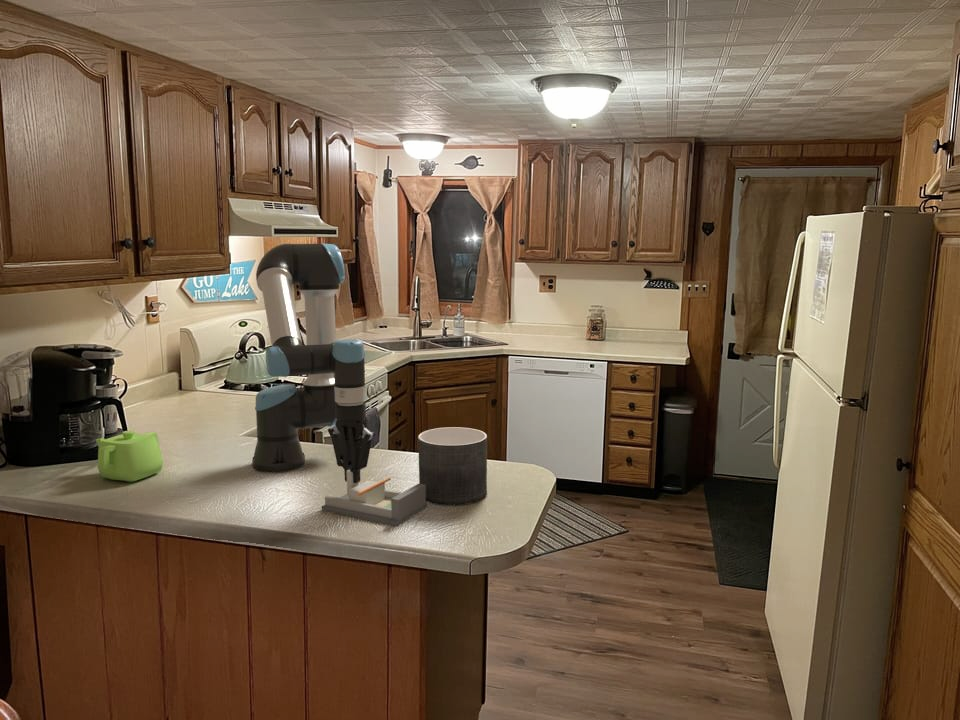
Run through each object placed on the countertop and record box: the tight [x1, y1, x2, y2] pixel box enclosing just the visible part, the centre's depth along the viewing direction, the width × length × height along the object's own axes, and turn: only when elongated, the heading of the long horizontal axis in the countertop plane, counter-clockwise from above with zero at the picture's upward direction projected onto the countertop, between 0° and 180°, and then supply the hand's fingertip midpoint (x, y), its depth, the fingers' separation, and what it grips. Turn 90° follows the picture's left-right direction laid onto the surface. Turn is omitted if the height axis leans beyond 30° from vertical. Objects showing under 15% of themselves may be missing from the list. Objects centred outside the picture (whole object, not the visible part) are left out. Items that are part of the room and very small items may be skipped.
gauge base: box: [321, 483, 429, 527], centre depth 179 cm, size 22×14×6 cm, turn 63°
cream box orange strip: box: [349, 477, 392, 505], centre depth 180 cm, size 6×13×5 cm, turn 153°
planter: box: [417, 426, 488, 506], centre depth 189 cm, size 18×18×16 cm
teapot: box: [95, 430, 164, 483], centre depth 204 cm, size 18×20×13 cm
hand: (353, 494), depth 182 cm, fingers closed
